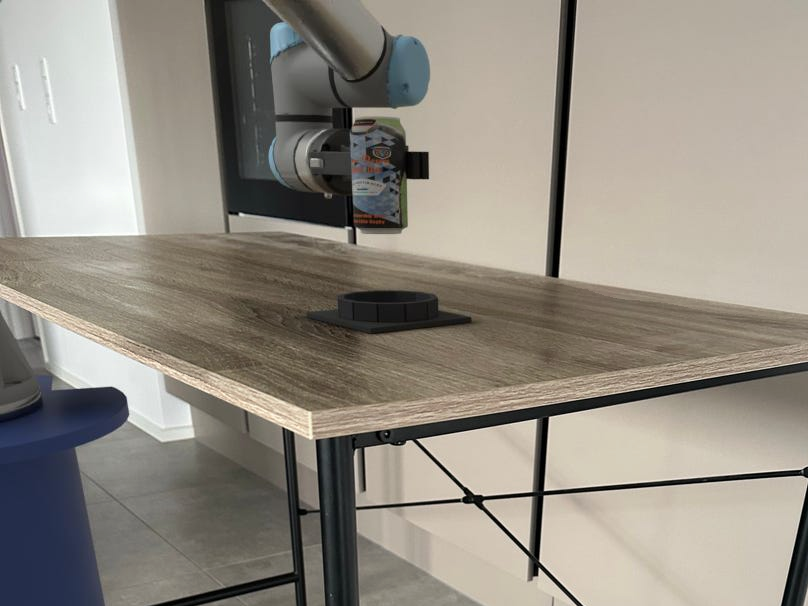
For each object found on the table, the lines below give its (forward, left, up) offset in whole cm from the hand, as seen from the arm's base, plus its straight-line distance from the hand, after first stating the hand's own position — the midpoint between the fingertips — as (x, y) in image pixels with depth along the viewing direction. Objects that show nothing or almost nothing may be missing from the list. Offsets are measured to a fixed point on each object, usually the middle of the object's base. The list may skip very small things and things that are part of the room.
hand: (421, 165), depth 102 cm
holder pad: (-2, +4, -16) cm, 17 cm away
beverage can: (-2, +4, -7) cm, 8 cm away
